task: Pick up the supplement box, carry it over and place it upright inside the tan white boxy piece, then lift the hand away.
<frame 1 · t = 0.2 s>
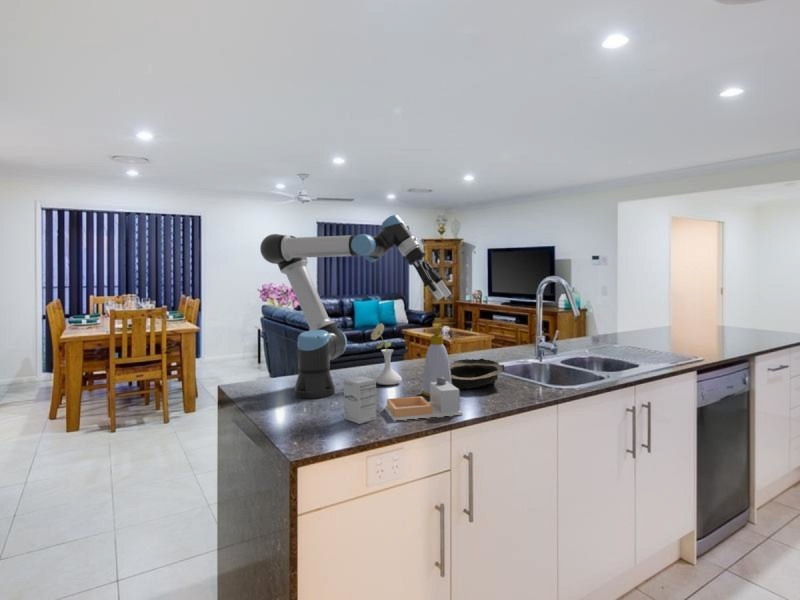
hand: (445, 297, 176), 36 cm above the worktop, tool tilted 35°, fingers open, 13 cm apart
stone bowl: (472, 386, 187), on the worktop
supplement box: (360, 419, 147), on the worktop
soap bottle: (437, 394, 175), on the worktop
tan white boxy piece: (422, 411, 153), on the worktop
flower in vase: (386, 384, 192), on the worktop
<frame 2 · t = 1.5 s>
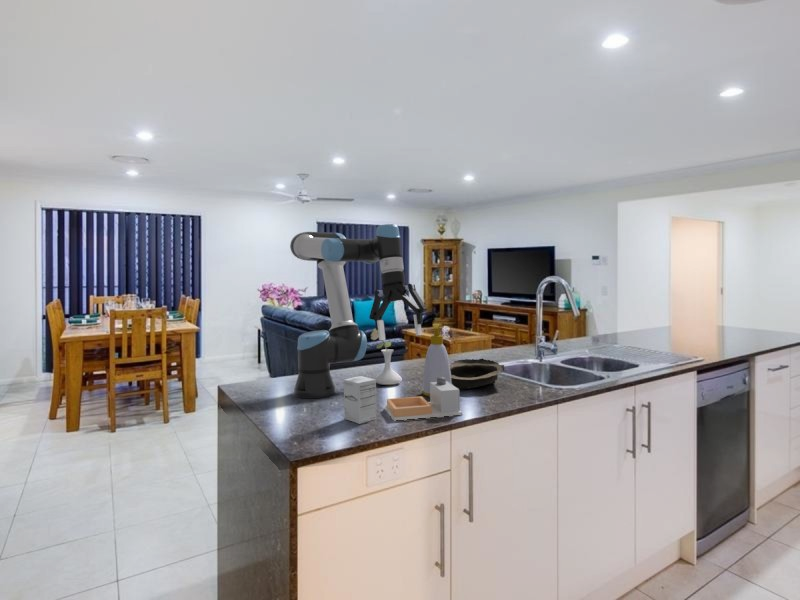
hand: (400, 337, 151), 24 cm above the worktop, tool pointing down, fingers open, 13 cm apart
nothing on the worktop moved.
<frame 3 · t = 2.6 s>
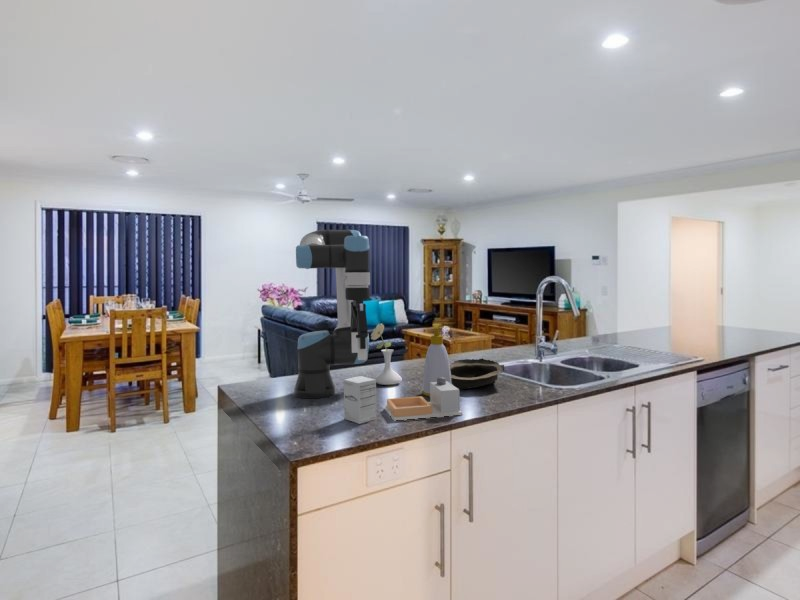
hand: (359, 356, 145), 20 cm above the worktop, tool pointing down, fingers open, 13 cm apart
nothing on the worktop moved.
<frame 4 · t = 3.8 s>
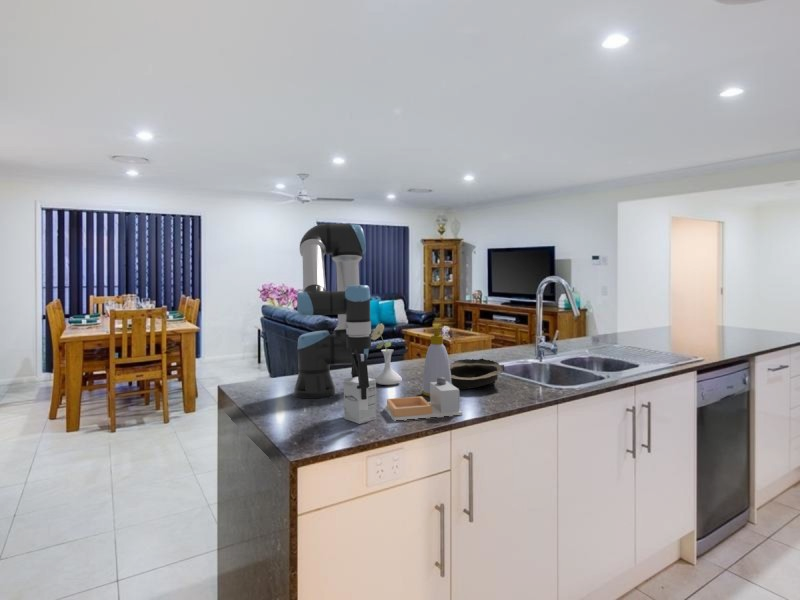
hand: (360, 404, 146), 5 cm above the worktop, tool pointing down, fingers open, 13 cm apart
nothing on the worktop moved.
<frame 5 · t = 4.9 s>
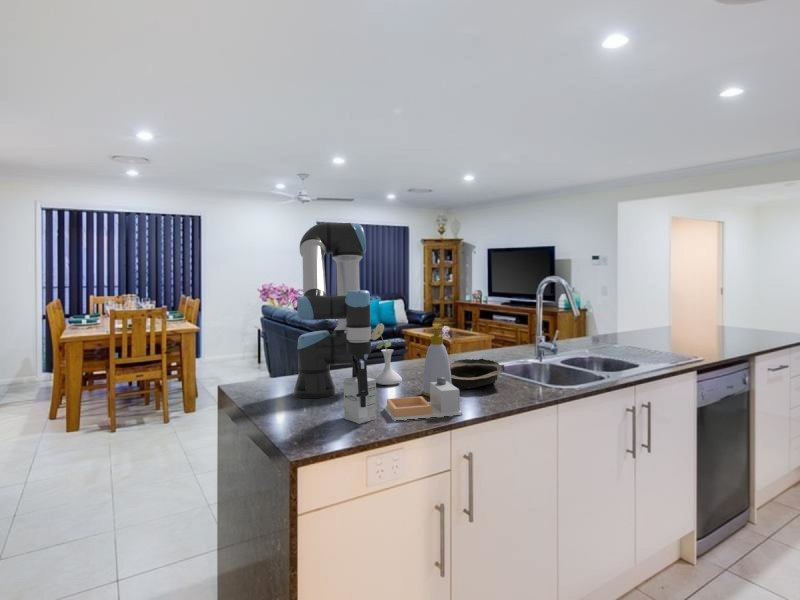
hand: (360, 412, 147), 2 cm above the worktop, tool pointing down, fingers closed on supplement box, 10 cm apart
supplement box: (360, 419, 147), on the worktop, touching gripper
everything else where it was.
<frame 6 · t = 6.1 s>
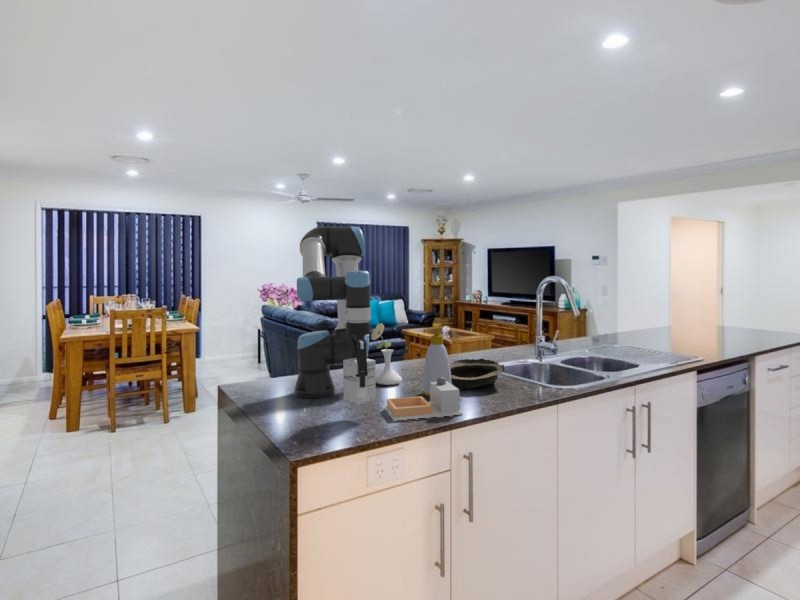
hand: (359, 392, 147), 8 cm above the worktop, tool pointing down, fingers closed on supplement box, 10 cm apart
supplement box: (359, 400, 147), point 6 cm above the worktop, touching gripper
everything else where it was.
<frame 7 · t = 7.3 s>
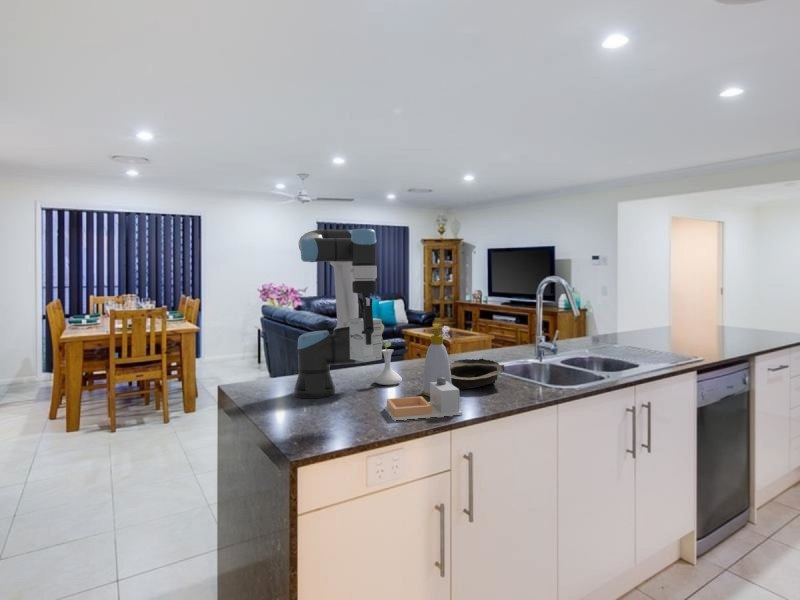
hand: (366, 352, 146), 21 cm above the worktop, tool pointing down, fingers closed on supplement box, 10 cm apart
supplement box: (366, 360, 146), point 18 cm above the worktop, touching gripper
everything else where it was.
when the fingers open (6 cm above the worktop, at t = 11.3 s): supplement box drops 2 cm, resting on tan white boxy piece.
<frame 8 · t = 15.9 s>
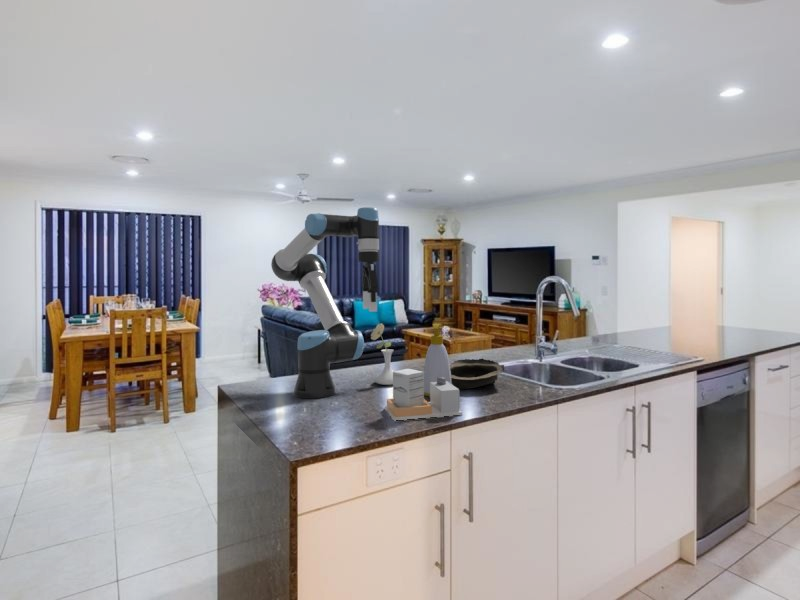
hand: (369, 310, 172), 32 cm above the worktop, tool pointing down, fingers open, 13 cm apart
supplement box: (408, 410, 152), point 1 cm above the worktop, touching tan white boxy piece
everything else where it was.
at the end: supplement box 0.2 cm from the target spot on the tan white boxy piece, point 0.8 cm above the tan white boxy piece's base; supplement box tilted 0°; the gripper is holding nothing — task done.
